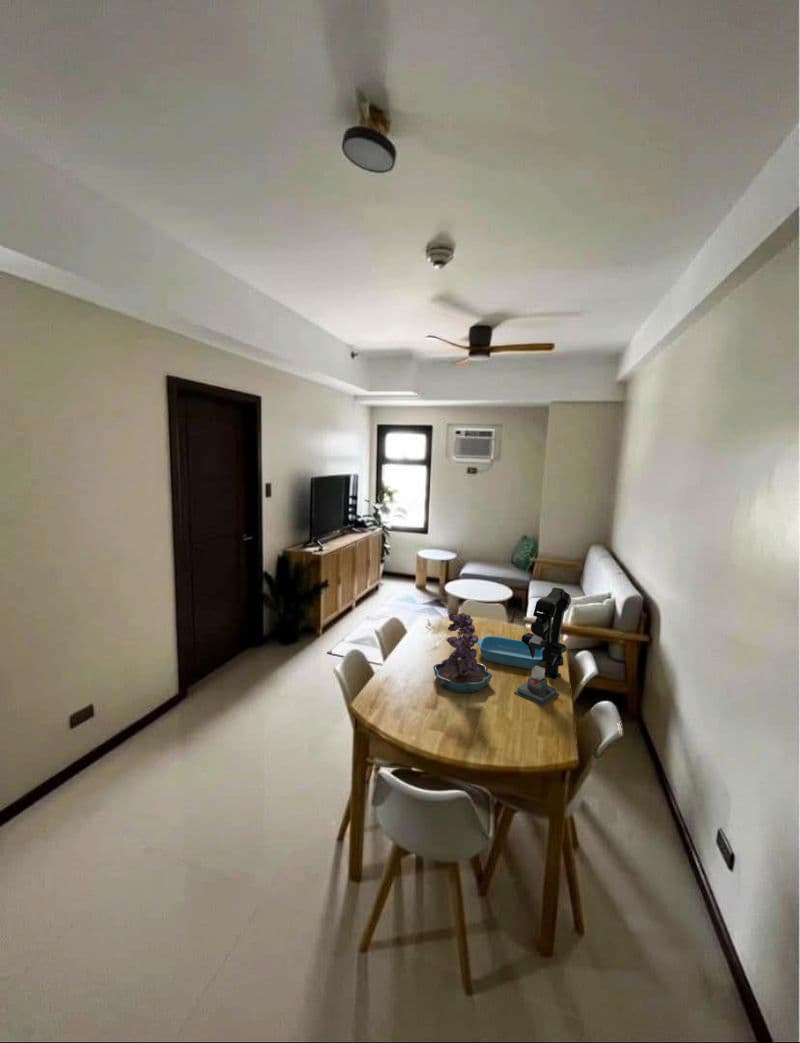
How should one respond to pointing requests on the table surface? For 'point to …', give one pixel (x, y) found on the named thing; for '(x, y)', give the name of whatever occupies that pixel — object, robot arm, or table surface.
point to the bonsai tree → (462, 659)
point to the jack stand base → (537, 691)
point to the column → (538, 673)
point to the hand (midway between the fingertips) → (542, 661)
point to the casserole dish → (509, 652)
